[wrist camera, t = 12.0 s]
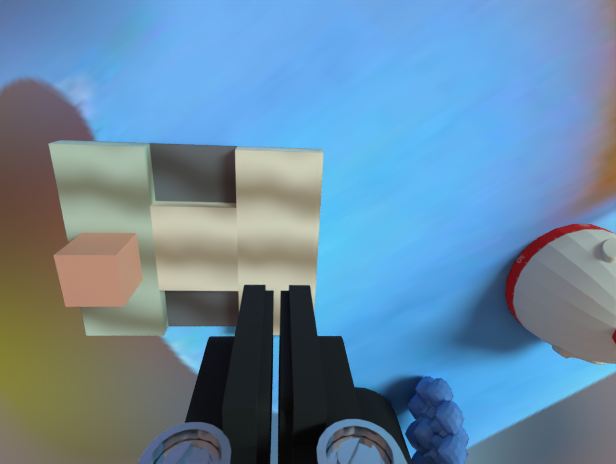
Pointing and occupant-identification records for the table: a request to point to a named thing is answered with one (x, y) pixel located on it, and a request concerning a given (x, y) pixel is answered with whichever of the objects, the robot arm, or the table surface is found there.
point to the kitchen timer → (568, 291)
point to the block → (99, 269)
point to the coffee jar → (381, 416)
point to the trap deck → (194, 225)
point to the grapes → (436, 425)
